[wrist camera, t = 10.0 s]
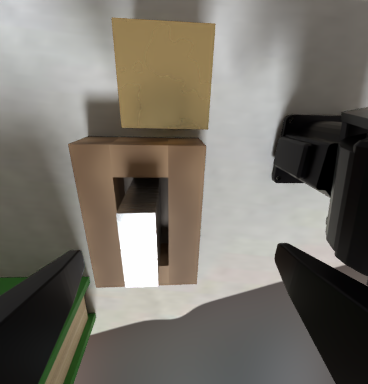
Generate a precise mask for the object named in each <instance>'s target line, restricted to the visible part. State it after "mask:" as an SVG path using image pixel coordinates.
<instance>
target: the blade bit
mask: <svg viewBox="0 0 368 384" xmlns="http://www.w3.org/2000/svg"><path fill="white" fill-rule="evenodd" d="M116 218H117V225H118V233H119V241H120V249H121V257H122V264H123V272H124V280H125V288H129V287H153V286H158V280H159V263H160V246H161V210H160V178H133V180H132V182H131V184H130V186H129V188H128V190H127V192H126V194H125V196H124V198H123V200H122V202H121V204H120V206H119V208H118V210H117V213H116Z"/></svg>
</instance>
